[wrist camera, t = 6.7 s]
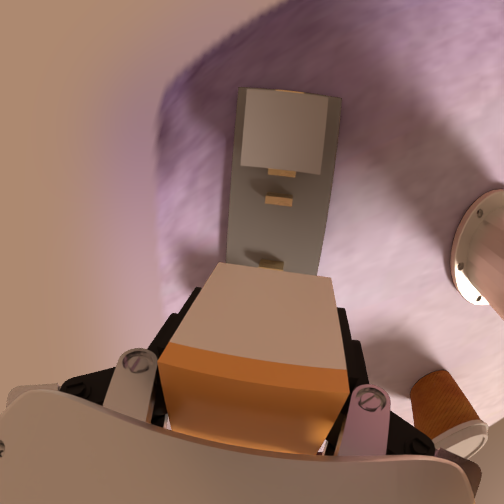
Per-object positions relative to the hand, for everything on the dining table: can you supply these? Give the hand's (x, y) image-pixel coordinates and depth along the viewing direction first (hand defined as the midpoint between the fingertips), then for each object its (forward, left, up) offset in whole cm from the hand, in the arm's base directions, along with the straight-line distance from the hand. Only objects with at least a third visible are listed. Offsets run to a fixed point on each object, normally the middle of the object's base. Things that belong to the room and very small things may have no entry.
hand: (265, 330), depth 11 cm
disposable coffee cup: (-30, +1, -14) cm, 33 cm away
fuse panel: (0, 0, -14) cm, 14 cm away
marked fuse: (0, 0, -1) cm, 1 cm away
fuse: (+5, -6, -13) cm, 15 cm away
